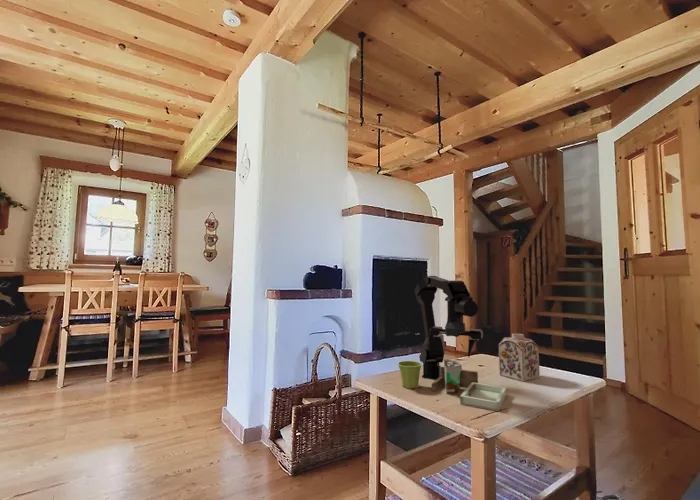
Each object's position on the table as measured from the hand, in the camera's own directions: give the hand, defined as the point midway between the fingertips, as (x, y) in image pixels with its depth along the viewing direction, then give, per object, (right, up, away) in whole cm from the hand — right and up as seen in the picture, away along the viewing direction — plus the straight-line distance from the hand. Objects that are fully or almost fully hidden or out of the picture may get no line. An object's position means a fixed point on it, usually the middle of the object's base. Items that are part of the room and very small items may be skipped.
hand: (456, 355), depth 130 cm
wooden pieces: (0, -13, +2) cm, 13 cm away
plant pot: (-16, -14, +5) cm, 22 cm away
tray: (+7, -12, -9) cm, 17 cm away
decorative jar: (+33, -15, +18) cm, 40 cm away
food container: (-1, -13, 0) cm, 13 cm away
